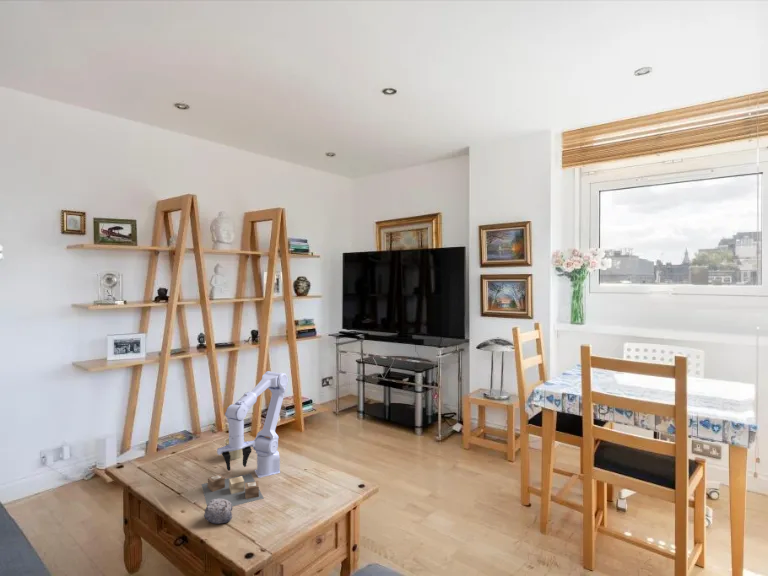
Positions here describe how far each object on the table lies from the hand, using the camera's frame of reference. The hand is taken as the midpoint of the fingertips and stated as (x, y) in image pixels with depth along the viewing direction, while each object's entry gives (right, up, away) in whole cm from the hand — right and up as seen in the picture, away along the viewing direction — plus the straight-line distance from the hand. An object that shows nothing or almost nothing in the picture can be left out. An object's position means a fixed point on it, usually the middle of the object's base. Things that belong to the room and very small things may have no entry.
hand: (236, 467), depth 170 cm
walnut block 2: (+7, -9, -4) cm, 12 cm away
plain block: (0, -9, 0) cm, 9 cm away
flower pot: (-12, -9, +31) cm, 35 cm away
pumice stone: (+2, -10, -21) cm, 23 cm away
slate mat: (-2, -9, -1) cm, 10 cm away
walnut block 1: (-9, -9, +2) cm, 13 cm away
